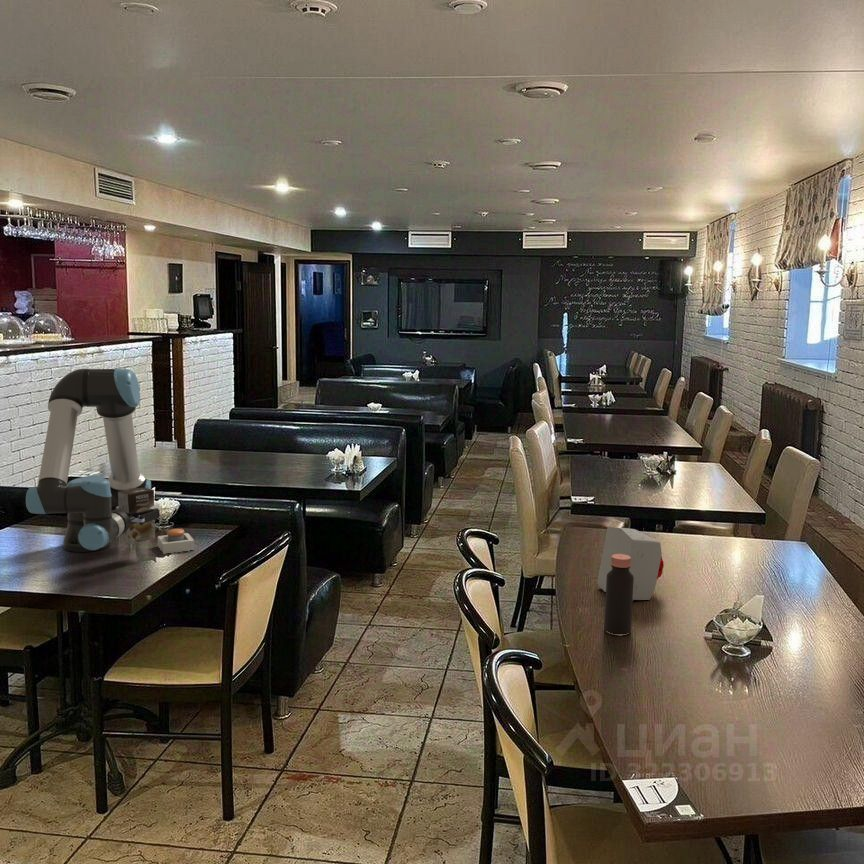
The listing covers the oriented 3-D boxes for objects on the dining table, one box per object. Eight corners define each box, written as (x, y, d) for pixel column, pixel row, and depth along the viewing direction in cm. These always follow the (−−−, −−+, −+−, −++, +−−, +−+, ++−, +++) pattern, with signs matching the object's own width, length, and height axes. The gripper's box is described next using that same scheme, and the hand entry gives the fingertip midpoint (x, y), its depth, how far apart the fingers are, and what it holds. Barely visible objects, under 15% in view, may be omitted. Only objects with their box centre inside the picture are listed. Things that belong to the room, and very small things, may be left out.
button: (165, 545, 287) (165, 529, 287) (182, 543, 290) (182, 528, 289) (169, 549, 282) (168, 534, 282) (186, 547, 285) (185, 532, 284)
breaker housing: (158, 546, 288) (157, 536, 288) (188, 542, 293) (188, 532, 292) (163, 554, 280) (163, 544, 279) (194, 550, 284) (194, 540, 284)
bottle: (605, 625, 225) (608, 551, 222) (631, 628, 223) (635, 554, 220) (602, 634, 219) (606, 559, 215) (629, 638, 217) (634, 561, 214)
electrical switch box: (666, 607, 245) (679, 539, 243) (620, 604, 240) (633, 535, 238) (639, 590, 259) (652, 526, 257) (596, 587, 254) (608, 521, 252)
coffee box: (131, 544, 267) (129, 494, 265) (118, 541, 271) (116, 491, 269) (156, 538, 275) (154, 489, 272) (143, 535, 278) (141, 486, 276)
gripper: (76, 536, 255) (107, 518, 277) (150, 538, 254) (176, 519, 276) (75, 511, 254) (106, 495, 276) (149, 513, 253) (176, 496, 275)
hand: (141, 507), depth 276 cm, fingers closed on coffee box, 10 cm apart
